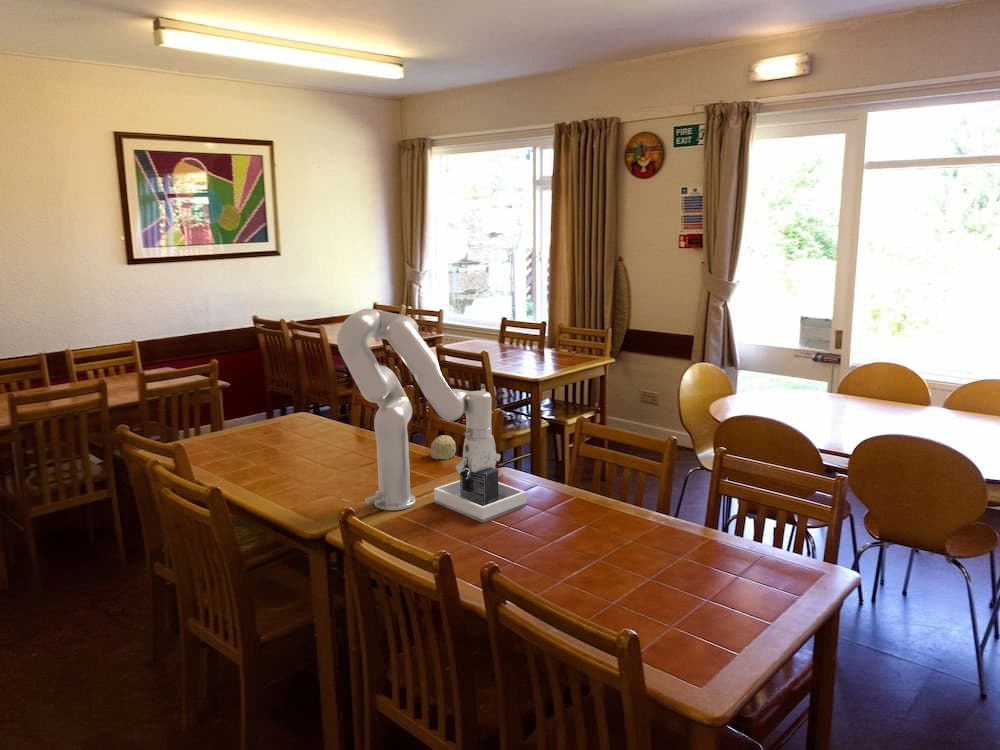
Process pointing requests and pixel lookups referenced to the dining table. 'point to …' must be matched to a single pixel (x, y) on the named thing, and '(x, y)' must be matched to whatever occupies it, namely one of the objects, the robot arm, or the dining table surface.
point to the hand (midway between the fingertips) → (478, 486)
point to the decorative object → (443, 447)
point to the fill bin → (451, 499)
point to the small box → (482, 487)
